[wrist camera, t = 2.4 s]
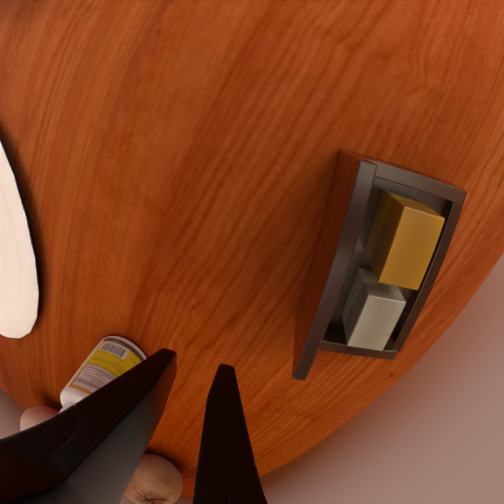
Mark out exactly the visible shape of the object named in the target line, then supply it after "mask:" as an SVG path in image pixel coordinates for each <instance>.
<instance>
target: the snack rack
mask: <svg viewBox="0 0 504 504" xmlns="http://www.w3.org/2000/svg"><path fill="white" fill-rule="evenodd" d="M465 196H466V191H465V190H463V189H461V188H459V187H456V186H454V185H452V184H450V183H447V182H444V181H442V180H439V179H436V178H434V177H431V176H428V175H425V174H422V173H419V172H416V171H413V170H410V169H407V168H404V167H401V166H398V165H395V164H392V163H389V162H385V161H382V160H379V159H375V158H372V157H368V156H365V155H361V154H357V153H354V152H350V151H346V150H342V149H340V150H339V153H338V158H337V162H336V167H335V171H334V176H333V180H332V184H331V188H330V193H329V197H328V201H327V205H326V209H325V213H324V217H323V221H322V225H321V229H320V233H319V237H318V240H317V244H316V248H315V252H314V255H313V259H312V263H311V266H310V270H309V273H308V277H307V280H306V284H305V287H304V291H303V294H302V298H301V301H300V304H299V308H298V311H297V314H296V317H295V337H294V356H293V373H292V378H293V379H298V380H306V378H307V375H308V373H309V371H310V368H311V366H312V364H313V361H314V359H315V356H316V354H317V352H318V349H320V350H326V351H332V352H338V353H345V354H351V355H358V356H365V357H373V358H381V359H389V360H393V359H394V358H395V356H396V354H397V352H400V350H401V348H402V347H403V345H404V343H405V341H406V339H407V337H408V336H409V334H410V332H411V330H412V328H413V326H414V324H415V322H416V320H417V318H418V316H419V314H420V312H421V310H422V308H423V306H424V304H425V302H426V300H427V297H428V295H429V293H430V291H431V289H432V286H433V284H434V282H435V280H436V277H437V275H438V272H439V270H440V268H441V265H442V263H443V260H444V258H445V255H446V253H447V250H448V247H449V245H450V242H451V239H452V236H453V234H454V231H455V228H456V225H457V222H458V219H459V216H460V213H461V209H462V206H463V203H464V200H465Z"/></svg>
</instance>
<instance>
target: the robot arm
mask: <svg viewBox="0 0 504 504" xmlns="http://www.w3.org/2000/svg"><path fill="white" fill-rule="evenodd" d="M176 371H177V354H176V352H175V351H173V350H169V349H166V348H162V349H160V350H159V351H157V352H156V353H154V354H152V355H151V356H149V357H148V358H146V359H145V360H143V361H142V362H140V363H139V364H137V365H136V366H134V367H132V368H131V369H129V370H128V371H126V372H125V373H123V374H121V375H120V376H118V377H117V378H115V379H114V380H112V381H110V382H109V383H107V384H106V385H104V386H103V387H101V388H99V389H98V390H96V391H95V392H93V393H91V394H90V395H88V396H87V397H85V398H83V399H82V400H80V401H78V402H77V403H75V406H74V405H72V406H70V407H68V408H67V409H65V410H64V411H62V412H60V413H58V414H56V415H55V416H53V417H51V418H49V419H47V420H45V421H43V422H41V423H39V424H37V425H34V426H32V427H30V428H27V429H25V430H23V431H20V432H18V433H16V434H13V435H11V436H8V437H6V438H3V439H0V504H119V503H120V501H121V499H122V497H123V495H124V493H125V491H126V489H127V486H128V484H129V482H130V480H131V478H132V476H133V474H134V472H135V470H136V468H137V466H138V464H139V462H140V460H141V458H142V456H143V454H144V452H145V450H146V448H147V446H148V444H149V442H150V440H151V438H152V436H153V434H154V432H155V430H156V427H157V425H158V423H159V421H160V419H161V417H162V414H163V411H164V408H165V405H166V402H167V399H168V396H169V393H170V391H171V388H172V385H173V382H174V379H175V376H176ZM193 504H268V503H267V501H266V498H265V496H264V493H263V490H262V486H261V483H260V479H259V476H258V472H257V468H256V465H255V460H254V456H253V452H252V447H251V443H250V439H249V434H248V430H247V425H246V421H245V416H244V412H243V407H242V403H241V398H240V393H239V389H238V384H237V379H236V374H235V369H234V367H233V366H230V365H226V364H220V365H219V367H218V369H217V372H216V375H215V377H214V380H213V383H212V385H211V388H210V391H209V394H208V398H207V403H206V410H205V417H204V424H203V431H202V438H201V445H200V452H199V459H198V467H197V474H196V482H195V489H194V497H193Z"/></svg>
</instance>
